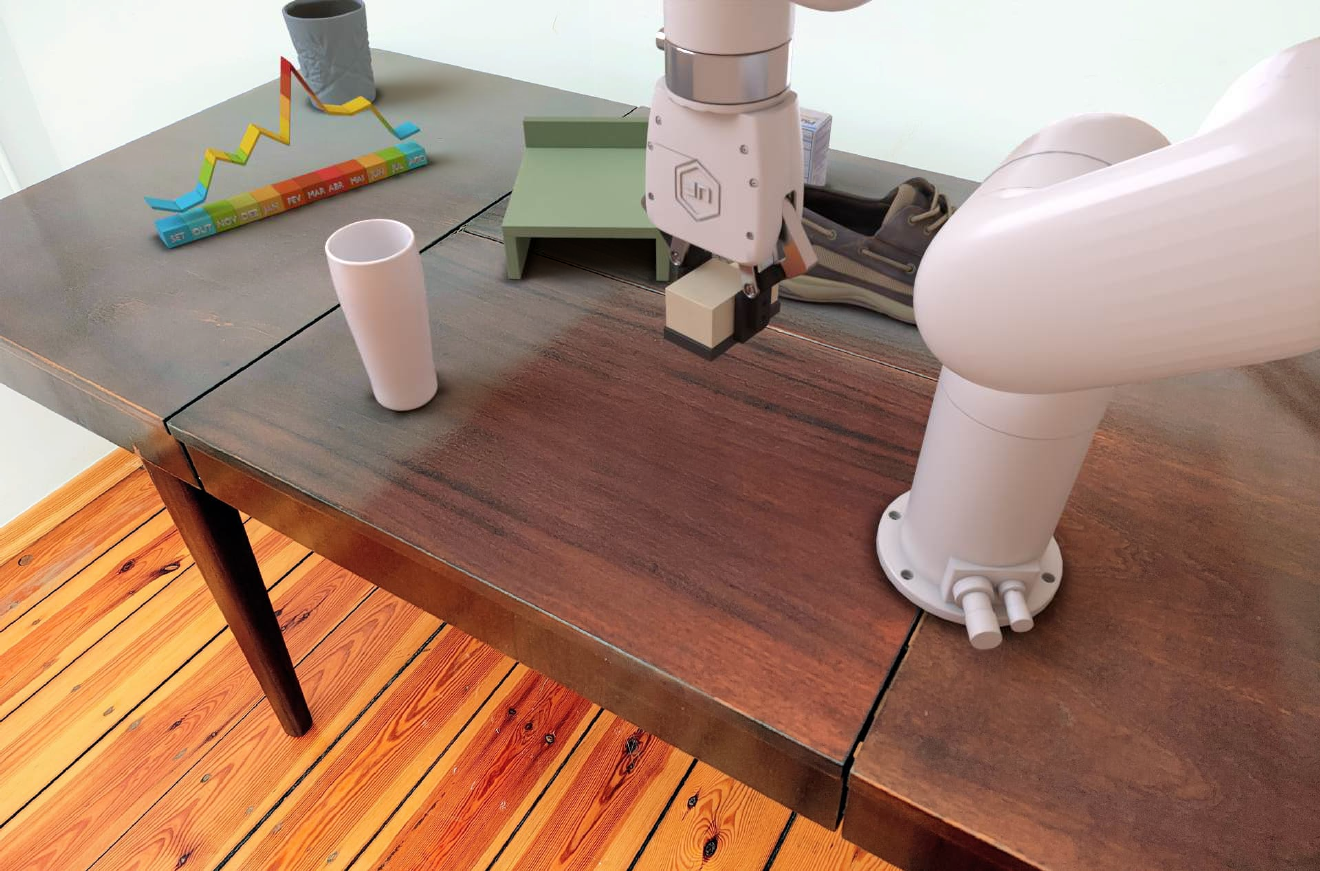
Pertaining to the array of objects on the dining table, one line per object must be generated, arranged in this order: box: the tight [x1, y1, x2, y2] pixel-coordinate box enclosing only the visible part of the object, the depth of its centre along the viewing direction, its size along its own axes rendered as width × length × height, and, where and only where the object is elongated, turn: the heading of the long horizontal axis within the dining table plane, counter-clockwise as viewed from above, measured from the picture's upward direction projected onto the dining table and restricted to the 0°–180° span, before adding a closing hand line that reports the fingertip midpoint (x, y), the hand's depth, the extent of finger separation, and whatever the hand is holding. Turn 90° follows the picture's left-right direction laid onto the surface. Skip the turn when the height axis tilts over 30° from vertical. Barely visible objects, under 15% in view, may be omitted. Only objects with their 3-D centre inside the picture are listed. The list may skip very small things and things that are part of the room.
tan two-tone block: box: [663, 257, 781, 363], centre depth 66 cm, size 8×4×4 cm, turn 138°
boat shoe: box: [758, 176, 958, 326], centre depth 87 cm, size 11×29×11 cm, turn 78°
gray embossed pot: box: [281, 0, 377, 111], centre depth 122 cm, size 10×10×12 cm
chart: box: [143, 55, 428, 249], centre depth 101 cm, size 30×3×15 cm, turn 129°
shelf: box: [501, 116, 671, 282], centre depth 96 cm, size 18×16×9 cm
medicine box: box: [799, 106, 833, 186], centre depth 104 cm, size 8×4×9 cm, turn 58°
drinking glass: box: [324, 218, 439, 412], centre depth 75 cm, size 7×7×15 cm
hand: (722, 318), depth 67 cm, fingers closed on tan two-tone block, 4 cm apart
